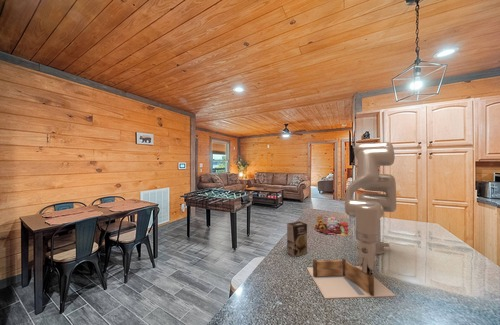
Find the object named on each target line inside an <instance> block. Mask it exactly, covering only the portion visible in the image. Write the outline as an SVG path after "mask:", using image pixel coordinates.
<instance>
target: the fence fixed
mask: <svg viewBox="0 0 500 325" xmlns="http://www.w3.org/2000/svg"><path fill="white" fill-rule="evenodd" d="M345 262H347V261H346V259H345V258H342V259H329V260H327V259H326V260H321V259H320V260H317V259H312V267H313V276H314V277H317V276H342V275H343V276H345Z"/></svg>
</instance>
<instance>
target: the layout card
mask: <svg viewBox="0 0 500 325" xmlns="http://www.w3.org/2000/svg"><path fill="white" fill-rule="evenodd" d="M354 266H355V267H357V268H359V269H360V270H362V267H360V266H359V265H354ZM306 270H307V272H308V273H309V275H310V277H311V278H312V280H313V282H314V283H315V286H316V287H317V288H318V290H319V292H320V293H321V295H322V296H323V299H324V300H333V299H334V300H335V299H337V300H338V299H340V300H341V299H365V298H367V299H368V298H370V299H371V298H394V297H397V296H396V294H395V293H394V292H392V291H391V290H390V289H389V288H388V287H386V286H385V285H384V284H383V283H382V282H381V281H379V280H378V278H376V277H375V276H374V296H371V295H370V293H368V292H367V291H365V290H364V289H363V288H361V287H360V286H358V285H357V284H355V283H354V282H353V281H351V280H350V279H348V278H347V277H345V276H343V275H342V276H317V277H314V276H313V266H312V267H310V266H308V267H306Z"/></svg>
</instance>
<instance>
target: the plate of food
mask: <svg viewBox="0 0 500 325" xmlns="http://www.w3.org/2000/svg"><path fill="white" fill-rule="evenodd" d="M316 218H317V219H315V220H316V222H317V223H316V224H315V226H314V227H315V228H314V230H316V232H320V233H324V234H323V235H329V234H334V235H333V236H336V235H338V236H337V237H344V236H345V237H349V236H348V235H350V234H348V233H350V232H351V233H352V231H351V230H350V228H349V223H348V222H346V221H344V222H342V221H339V220H338V219H337V218H336V217H334V216H331V217H328V218H326V217H324V218H323V216H322V215H320V214H319V215H317V217H316ZM342 230H343V231H344V232H342ZM350 236H351V235H350Z"/></svg>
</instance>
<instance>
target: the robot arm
mask: <svg viewBox="0 0 500 325" xmlns="http://www.w3.org/2000/svg"><path fill="white" fill-rule="evenodd" d="M394 149H395V148H394V146H393V144H392V143H391V142H389V141H382V142H381V141H379V142H365V143H358V144H355V145H354V147H353V154H354V156H355V158H356V161H357V163H356V167H357V168H356V179H354V180H353V181H352V182H351V183H350V184H349V186H348V187H347V188H346V191H345V195H344V212H345V213H346V215H347V216H349V217H354V218H355V219H354V220H355V239H356V240H357V241H358V244H357V249H358V266H360V267H362V271H363V272H364V273H367V274H369V275H373V271H374V270H376V267H377V266H376V265H377V261H378V260H377V258H378V257H377V255H383V254H385V249H384V248H389V247H390V243H388V242H385V243H384V241H381V240H382V239H381V218H382V217H383V216H384V213H394V212H395V211H396V210H397V183H396V179H395V176H394V175H392V174H388V173H379V167H385V166H387V167H389V166H392V165H393V164H394V162H395V159H396V158H395V150H394ZM359 189H361V190H364V191H369V192H362V193H360V194H359V195H358V197H357V199H353V195H354V193H355V192H356V191H358V190H359ZM374 192H382V193H374Z"/></svg>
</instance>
